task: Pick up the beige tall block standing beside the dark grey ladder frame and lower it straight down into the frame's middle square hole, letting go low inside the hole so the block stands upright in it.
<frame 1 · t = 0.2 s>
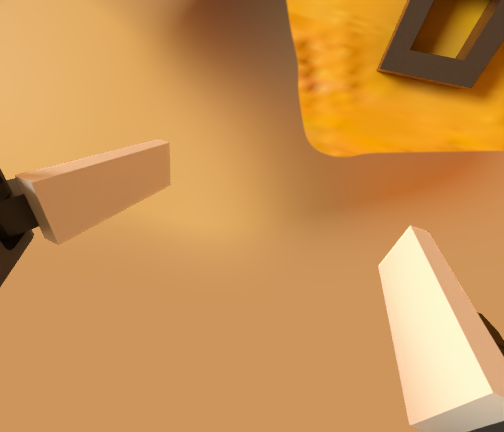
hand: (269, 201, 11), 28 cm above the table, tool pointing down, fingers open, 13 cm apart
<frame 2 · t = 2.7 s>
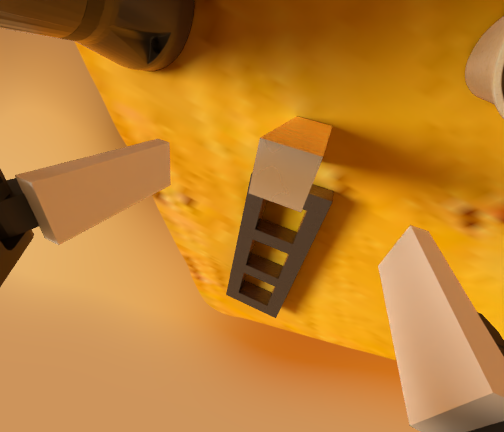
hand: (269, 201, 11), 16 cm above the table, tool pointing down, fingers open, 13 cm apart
beige tall block: (308, 139, 24), on the table
dark grey ladder frame: (271, 247, 34), on the table
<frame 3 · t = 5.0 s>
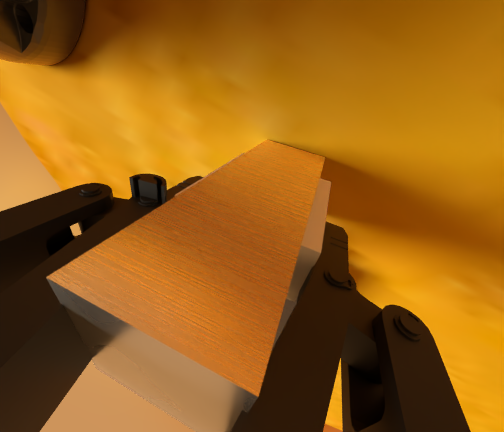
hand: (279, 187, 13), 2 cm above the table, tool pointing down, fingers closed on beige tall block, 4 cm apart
beige tall block: (286, 176, 15), on the table, touching gripper
dark grey ladder frame: (243, 312, 25), on the table
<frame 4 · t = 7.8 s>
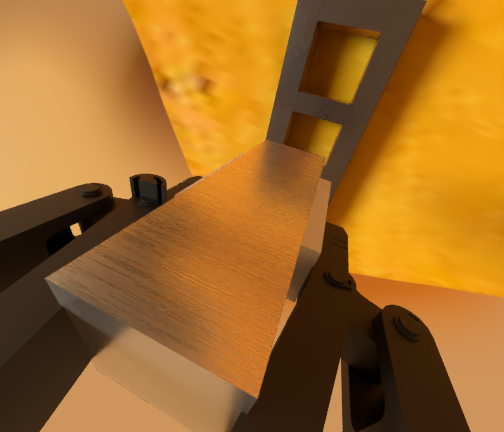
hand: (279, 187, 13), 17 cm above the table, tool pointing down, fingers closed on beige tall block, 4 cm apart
beige tall block: (286, 176, 15), point 15 cm above the table, touching gripper
dark grey ladder frame: (311, 138, 27), on the table
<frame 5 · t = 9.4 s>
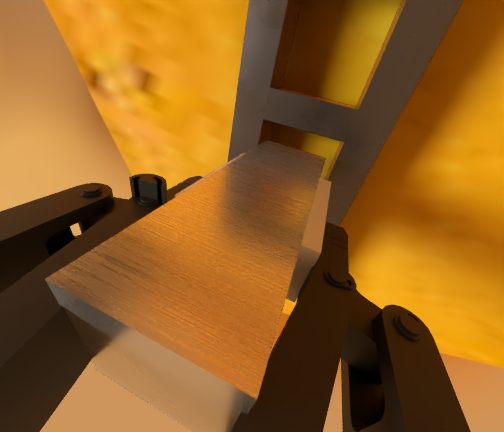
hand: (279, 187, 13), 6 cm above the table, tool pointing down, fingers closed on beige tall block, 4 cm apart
beige tall block: (286, 176, 15), point 4 cm above the table, touching gripper
dark grey ladder frame: (297, 158, 18), on the table
when the fingers open (4 cm above the table, at t = 10.7 s): beige tall block drops 2 cm, resting in dark grey ladder frame.
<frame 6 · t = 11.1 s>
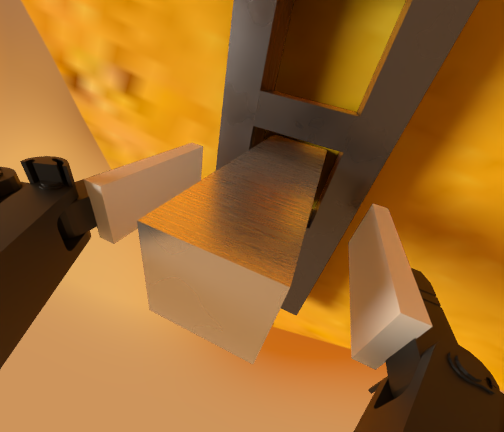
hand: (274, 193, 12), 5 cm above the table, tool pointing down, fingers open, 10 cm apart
beige tall block: (291, 167, 16), resting in dark grey ladder frame
dark grey ladder frame: (292, 167, 16), on the table
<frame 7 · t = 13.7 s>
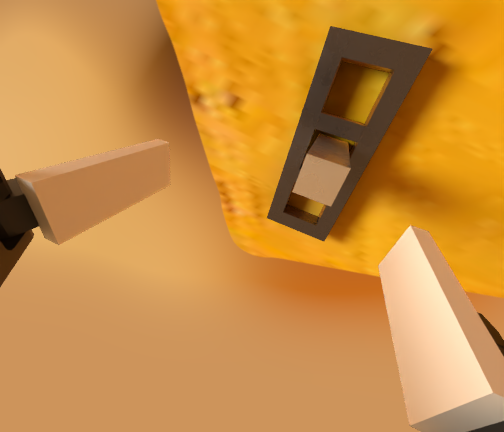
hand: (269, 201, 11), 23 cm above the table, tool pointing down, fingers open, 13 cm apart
beige tall block: (327, 151, 30), resting in dark grey ladder frame
dark grey ladder frame: (327, 152, 30), on the table
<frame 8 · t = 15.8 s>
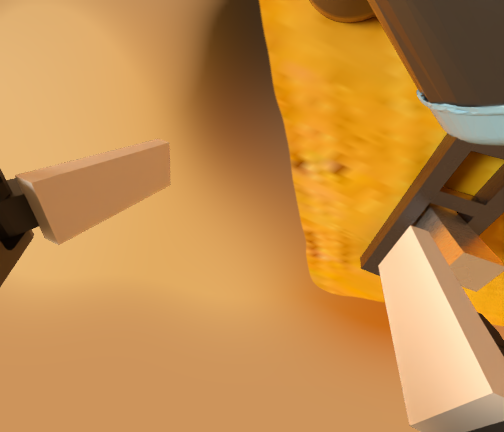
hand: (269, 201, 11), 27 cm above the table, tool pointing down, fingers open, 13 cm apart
beige tall block: (430, 215, 33), resting in dark grey ladder frame
dark grey ladder frame: (430, 215, 33), on the table
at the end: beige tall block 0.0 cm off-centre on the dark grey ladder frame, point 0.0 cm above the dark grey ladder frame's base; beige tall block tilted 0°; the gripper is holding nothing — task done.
